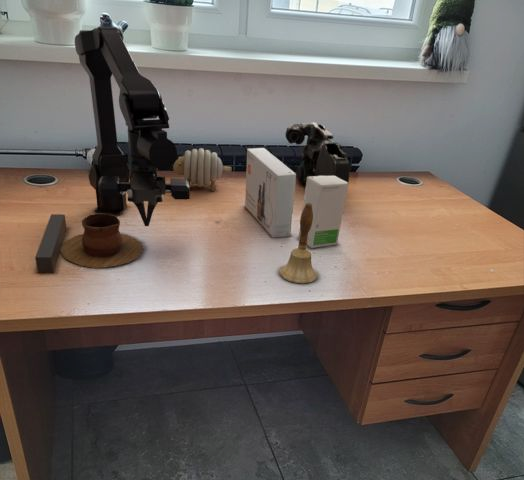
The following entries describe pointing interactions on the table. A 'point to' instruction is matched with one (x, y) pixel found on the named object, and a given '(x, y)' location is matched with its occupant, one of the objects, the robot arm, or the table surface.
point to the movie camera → (318, 152)
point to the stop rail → (51, 244)
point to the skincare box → (269, 191)
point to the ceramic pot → (101, 243)
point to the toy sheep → (200, 167)
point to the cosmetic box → (325, 209)
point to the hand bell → (301, 254)
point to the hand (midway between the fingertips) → (146, 225)
